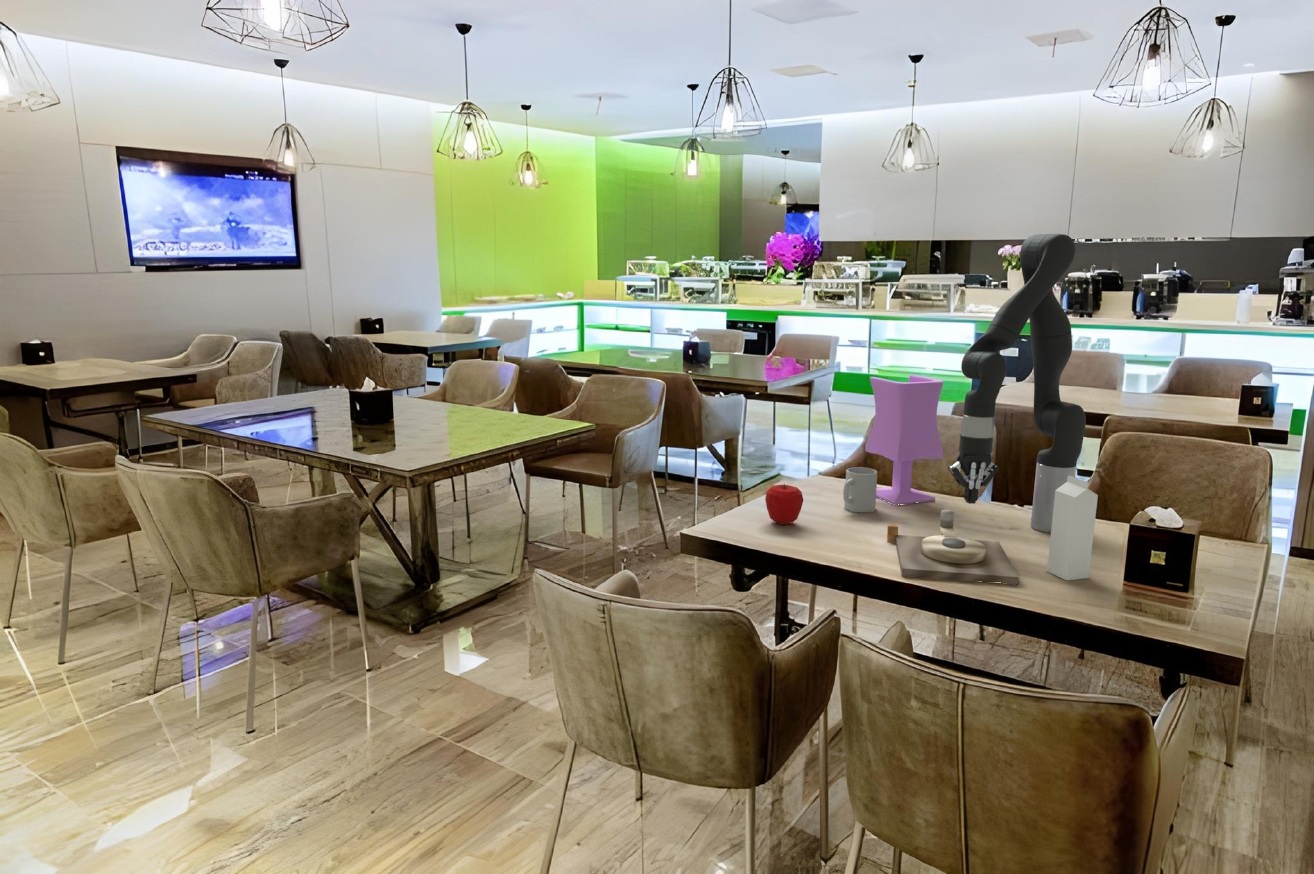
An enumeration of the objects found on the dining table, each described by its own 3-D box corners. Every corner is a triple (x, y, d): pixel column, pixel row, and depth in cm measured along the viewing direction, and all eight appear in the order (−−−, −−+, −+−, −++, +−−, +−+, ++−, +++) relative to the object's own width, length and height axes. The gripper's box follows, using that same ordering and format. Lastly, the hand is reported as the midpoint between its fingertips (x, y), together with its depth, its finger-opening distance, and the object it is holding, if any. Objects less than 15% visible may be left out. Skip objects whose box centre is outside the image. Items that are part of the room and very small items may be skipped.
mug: (855, 502, 243) (857, 465, 241) (881, 508, 237) (883, 470, 235) (830, 510, 235) (832, 472, 233) (857, 517, 229) (859, 478, 227)
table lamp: (906, 488, 258) (913, 374, 251) (940, 501, 244) (949, 381, 237) (862, 493, 253) (869, 376, 246) (894, 507, 239) (902, 384, 232)
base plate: (996, 546, 206) (998, 530, 205) (1017, 585, 181) (1019, 567, 181) (886, 538, 211) (887, 523, 211) (892, 575, 187) (893, 558, 186)
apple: (764, 528, 219) (765, 487, 217) (764, 517, 229) (765, 478, 227) (803, 529, 218) (804, 488, 216) (801, 518, 228) (802, 479, 225)
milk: (1066, 581, 184) (1076, 483, 179) (1046, 571, 190) (1055, 476, 185) (1089, 578, 186) (1100, 480, 181) (1068, 568, 191) (1078, 474, 187)
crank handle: (990, 565, 187) (992, 540, 186) (924, 561, 190) (925, 535, 188) (974, 534, 208) (976, 511, 207) (915, 530, 211) (917, 507, 210)
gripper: (993, 430, 210) (986, 498, 213) (943, 431, 207) (937, 499, 211) (1010, 436, 202) (1003, 506, 206) (960, 437, 200) (953, 507, 203)
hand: (970, 502), depth 208 cm, fingers closed
